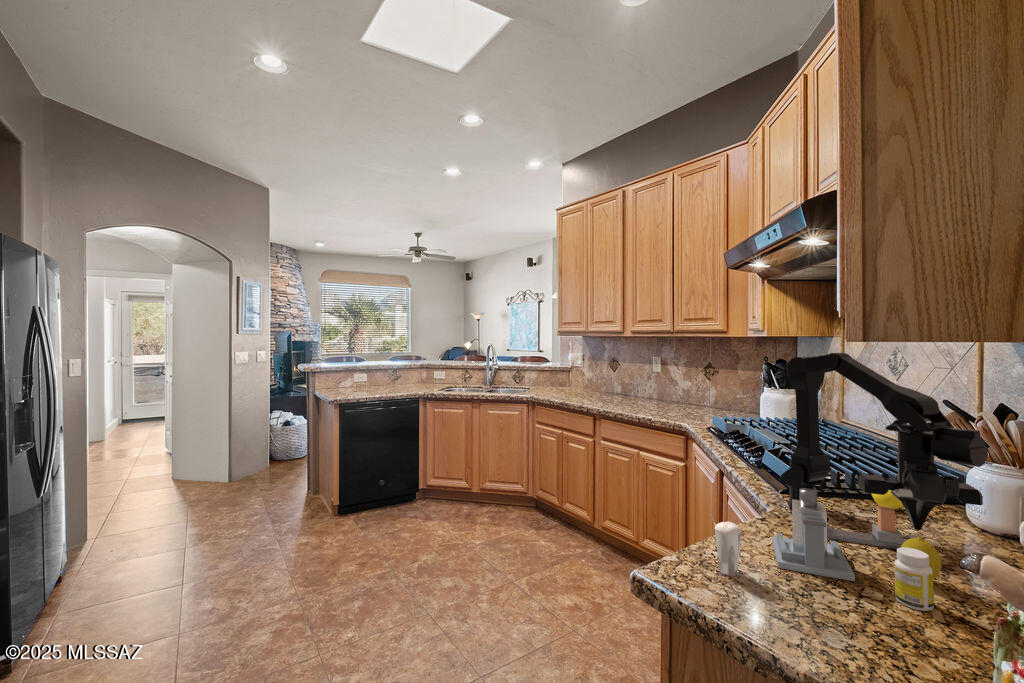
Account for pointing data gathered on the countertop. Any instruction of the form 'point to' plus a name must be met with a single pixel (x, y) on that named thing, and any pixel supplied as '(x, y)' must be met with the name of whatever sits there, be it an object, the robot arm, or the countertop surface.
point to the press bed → (808, 570)
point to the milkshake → (727, 547)
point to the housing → (809, 508)
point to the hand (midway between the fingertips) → (917, 529)
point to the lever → (886, 526)
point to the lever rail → (861, 538)
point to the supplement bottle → (913, 579)
